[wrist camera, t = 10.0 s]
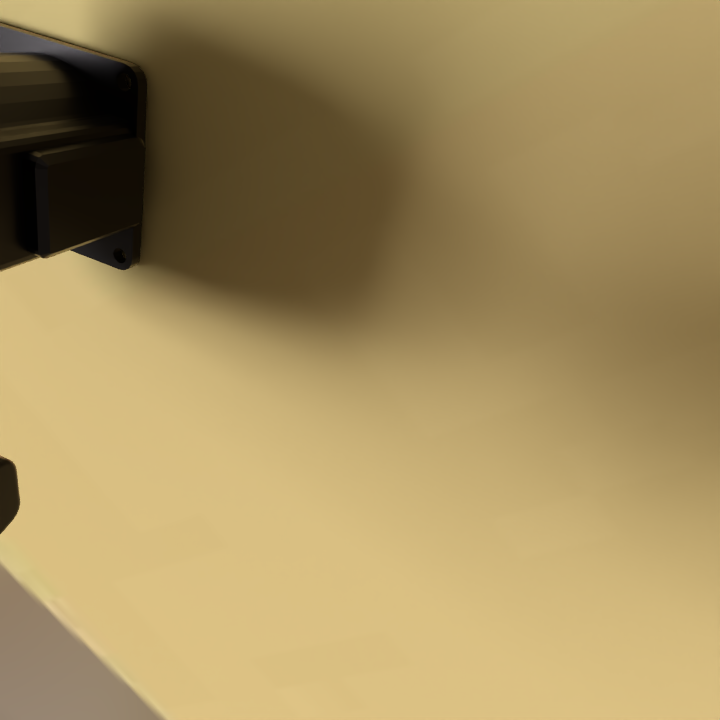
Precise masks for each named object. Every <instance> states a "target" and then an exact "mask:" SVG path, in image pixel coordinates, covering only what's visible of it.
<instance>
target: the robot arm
mask: <svg viewBox="0 0 720 720" xmlns="http://www.w3.org/2000/svg"><path fill="white" fill-rule="evenodd" d="M126 75H128V76H129V78H130V79H131V87H130V88H129V87H128V86H127V84H126ZM146 97H147V81H146V77H145V74H144V72H143V71H142V69H141V68H140V67H139V66H138V65H136V64H134V63H131V62H128V61H125V60H121V59H118V58H115V57H111V56H108V55H105V54H101V53H98V52H95V51H91V50H88V49H85V48H82V47H78V46H75V45H72V44H68V43H65V42H62V41H58V40H55V39H52V38H49V37H45V36H42V35H39V34H35V33H32V32H29V31H25V30H22V29H19V28H16V27H12V26H9V25H6V24H2V23H0V272H1V271H3V270H6V269H9V268H12V267H15V266H17V265H20V264H23V263H26V262H29V261H32V260H34V259H37V258H40V257H41V258H49V257H52V256H55V255H57V254H60V253H63V252H66V251H69V250H71V251H74V252H76V253H79V254H81V255H84V256H86V257H89V258H92V259H94V260H97V261H99V262H102V263H104V264H107V265H110V266H112V267H115V268H117V269H120V270H126V269H129V268H131V267H133V266H136V265H137V263H138V262H139V259H140V243H141V221H142V210H143V186H144V162H145V121H146ZM121 250H123V251H124V253H125V255H126V258H124V256H123V255H122V251H121ZM19 506H20V496H19V487H18V479H17V470H16V466H15V464H14V463H13V462H12V461H11V460H9V459H7V458H4V457H2V456H0V534H1V533H2V532H3V531H4V530H5V528H6V527H7V526H8V525H9V524H10V523H11V522H12V520H13V519H14V518H15V516H16V514H17V512H18V510H19Z"/></svg>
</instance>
